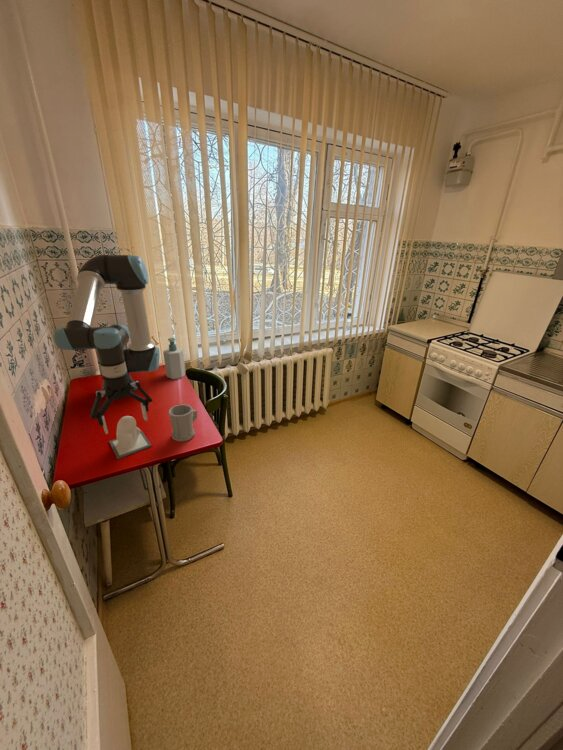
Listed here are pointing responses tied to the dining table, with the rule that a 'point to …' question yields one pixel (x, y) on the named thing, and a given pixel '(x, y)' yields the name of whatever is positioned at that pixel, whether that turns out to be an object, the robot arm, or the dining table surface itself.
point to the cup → (182, 422)
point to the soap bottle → (174, 361)
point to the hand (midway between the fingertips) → (126, 425)
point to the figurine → (127, 432)
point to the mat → (122, 452)
